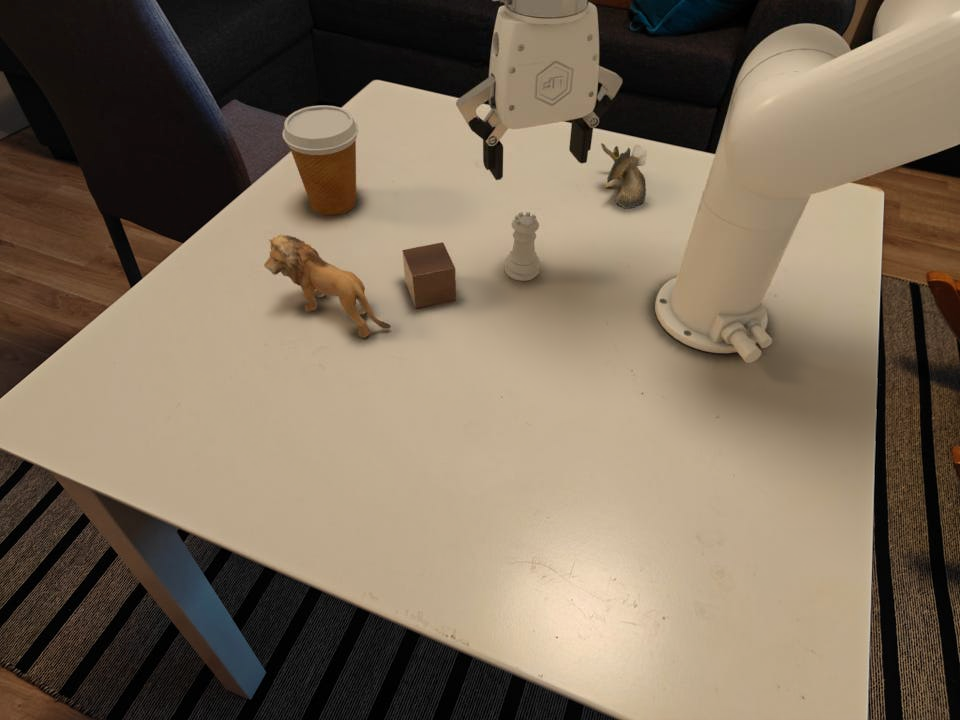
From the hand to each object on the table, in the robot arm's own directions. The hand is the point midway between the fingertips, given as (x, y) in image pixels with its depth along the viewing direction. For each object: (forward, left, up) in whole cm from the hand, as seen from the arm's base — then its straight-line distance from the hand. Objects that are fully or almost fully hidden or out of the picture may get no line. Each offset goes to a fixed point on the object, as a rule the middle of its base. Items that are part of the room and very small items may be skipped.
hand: (536, 165), depth 70 cm
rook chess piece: (0, +1, -15) cm, 15 cm away
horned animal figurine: (+13, -19, -15) cm, 28 cm away
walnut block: (0, +13, -15) cm, 19 cm away
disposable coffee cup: (+22, +21, -15) cm, 34 cm away
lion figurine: (0, +25, -15) cm, 29 cm away
